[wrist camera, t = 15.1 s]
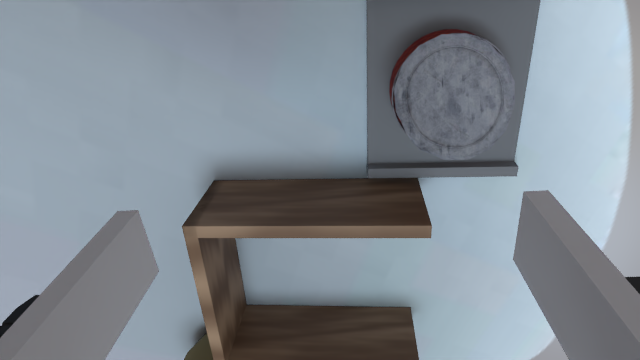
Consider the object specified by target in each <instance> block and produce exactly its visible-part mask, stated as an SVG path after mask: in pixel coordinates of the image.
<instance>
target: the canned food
mask: <svg viewBox="0 0 640 360" xmlns="http://www.w3.org/2000/svg"><path fill="white" fill-rule="evenodd" d="M514 93H515V81H514V79H513V77H512V74H511V70H510V66H509V64H508V62H507V60H506V58H505V56H504V55H503V54H502V52H501V51H500V50H499V49H498V48H497V47H496V46H495V45H494V44H492V43H491V42H490V41H488V40H486V39H484V38H482V37H480V36H478V35H476V34H474V33H472V32H469V31H466V30H461V29H442V30H438V31H433V32H431V33H429V34H426V35H424V36H422V37H420V38H419V39H417V40H416V41H414V42H413V43H412V44H411V45H410V46H409V47H407V48H406V49H405V50H404V52H403V53H402V54H401V56H400V57H399V58H398V60H397V62H396V64H395V66H394V68H393V70H392V74H391V78H390V83H389V95H390V102H391V105H392V108H393V113H394V115H395V118H396V121H397V122H398V124H399V126H400V127H401V129H402V130H403V131H404V132H405V133H406V134H407V135H408V137H409V138H410V140H411V141H412V143H413V144H414V145H415V146H416V147H417V148H418V149H419V150H422V151H424V152H427V153H429V154H432V155H434V156H436V157H438V158H441V159H443V160H469V159H471V158H473V157H475V156H477V155H479V154H481V153H483V152H485V151H487V150H489V149H491V147H492V146H493V145H494V144H495V143H496V141H497V140H498V139H499V138H500V137H501V136H502V135H503V133H504V132H505V131H506V130H507V127H508V124H509V121H510V118H511V115H512V113H513V110H514V108H515V95H514Z"/></svg>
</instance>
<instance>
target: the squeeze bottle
mask: <svg viewBox="0 0 640 360" xmlns="http://www.w3.org/2000/svg"><path fill="white" fill-rule="evenodd" d="M184 360H213V356H212V351H211V347H210V343H209V339H208V335H207V334H205V335H204V336H203V337H202V338H201V339H200V340H199V341H198V342H197V343H196V344H195V345H194V346H193V347H192V348H191V349H190V351H189V352H188V353H187V355H186V357H185V358H184Z"/></svg>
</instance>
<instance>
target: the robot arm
mask: <svg viewBox="0 0 640 360" xmlns="http://www.w3.org/2000/svg"><path fill="white" fill-rule="evenodd" d="M513 260H514V262H515V263H516V265H517V267H518V269H519V271H520V272H521V274H522V276H523V278H524V280H525V281H526V283H527V285H528V287H529V289H530V290H531V292H532V294H533V296H534V298H535V299H536V301H537V303H538V305H539V307H540V308H541V310H542V312H543V314H544V316H545V317H546V319H547V321H548V323H549V325H550V326H551V328H552V330H553V332H554V334H555V335H556V337H557V339H558V341H559V343H560V344H561V346H562V348H563V350H564V352H565V353H566V355H567V357H568V359H569V360H640V277H624V276H623V275H622V274H621V273H620V271H619V270H618V269H617V268H616V267H615V266H614V265H613V263H612V262H611V261H610V260H609V259H608V258H607V257H606V256H605V255H604V253H603V252H602V251H601V250H600V249H599V247H598V246H597V245H596V244H595V243H594V242H593V241H592V240H591V238H590V237H589V236H588V235H587V234H586V233H585V232H584V230H583V229H582V228H581V227H580V226H579V225H578V224H577V222H576V221H575V220H574V219H573V218H572V217H571V216H570V214H569V213H568V212H567V211H566V210H565V209H564V208H563V206H562V205H561V204H560V203H559V202H558V201H557V200H556V199H555V197H554V196H553V195H552V194H551V193H550V192H549V191H548V190H546V191H526V192H524V193H523V199H522V205H521V212H520V218H519V225H518V231H517V238H516V244H515V251H514V257H513ZM158 272H159V270H158V267H157V264H156V261H155V258H154V255H153V252H152V249H151V246H150V243H149V240H148V238H147V235H146V232H145V229H144V226H143V223H142V220H141V217H140V214H139V211H138V210H131V211H117V212H116V213H115V215H114V216H113V217H112V218H111V219H110V220H109V221H108V222H107V223H106V224H105V225H104V226H103V227H102V229H101V230H100V231H99V232H98V233H97V234H96V235H95V236H94V237H93V238H92V239H91V240H90V242H89V243H88V244H87V245H86V246H85V247H84V248H83V249H82V250H81V251H80V252H79V253H78V254H77V256H76V257H75V258H74V259H73V260H72V261H71V262H70V263H69V264H68V265H67V266H66V267H65V269H64V270H63V271H62V272H61V273H60V274H59V275H58V276H57V277H56V278H55V279H54V280H53V281H52V283H51V284H50V285H49V286H48V287H47V288H46V289H45V290H44V291H43V292H42V293H41V294H40V295H35V296H33V297H32V298H31V299H29V300H28V301H26V302H25V303H23V304H22V305H20V306H19V307H18V308H16V309H15V310H14V311H13V312H12V313H11V315H10V316H9V317H8V318H7V319H6V320H5V321H4V322H3V323H2V326H0V360H105V359H106V357H107V355H108V354H109V352H110V350H111V349H112V347H113V346H114V344H115V342H116V341H117V339H118V337H119V336H120V334H121V332H122V331H123V329H124V328H125V326H126V324H127V323H128V321H129V319H130V318H131V316H132V314H133V313H134V311H135V310H136V308H137V306H138V305H139V303H140V301H141V300H142V298H143V297H144V295H145V293H146V292H147V290H148V288H149V287H150V285H151V283H152V282H153V280H154V279H155V277H156V275H157V274H158Z"/></svg>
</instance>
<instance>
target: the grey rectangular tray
mask: <svg viewBox="0 0 640 360" xmlns="http://www.w3.org/2000/svg"><path fill="white" fill-rule="evenodd" d="M539 6H540V0H367V132H368V178H420V177H492V176H517V172H518V166H517V164H516V163H515V162H514V159H515V152H516V146H517V140H518V134H519V128H520V122H521V116H522V110H523V104H524V98H525V91H526V85H527V79H528V73H529V67H530V61H531V55H532V49H533V43H534V36H535V30H536V24H537V18H538V12H539ZM442 29H461V30H466V31H469V32H472V33H474V34H476V35H478V36H480V37H482V38H484V39H486V40H488V41H490V42H491V43H492V44H494V45H495V46H496V47H497V48H498V49H499V50H500V51H501V52H502V54H503V55H504V56H505V58H506V60H507V62H508V64H509V66H510V70H511V74H512V77H513V79H514V81H515V93H514V95H515V108H514V110H513V113H512V115H511V118H510V121H509V124H508V127H507V130H506V131H505V132H504V133H503V135H502V136H501V137H500V138H499V139H498V140H497V141H496V143H495V144H494V145H493V146H492V147H491V149H489V150H487V151H485V152H483V153H481V154H479V155H477V156H475V157H473V158H471V159H469V160H443V159H441V158H438V157H436V156H434V155H432V154H429V153H427V152H424V151H422V150H419V149H418V148H417V147H416V146H415V145H414V144H413V143H412V141H411V140H410V138H409V137H408V135H407V134H406V133H405V132H404V131H403V130H402V129H401V127H400V126H399V124H398V122H397V121H396V118H395V115H394V113H393V108H392V105H391V102H390V95H389V83H390V78H391V74H392V70H393V68H394V66H395V64H396V62H397V60H398V58H399V57H400V56H401V54H402V53H403V52H404V50H405V49H406V48H407V47H409V46H410V45H411V44H412V43H413V42H414V41H416V40H417V39H419V38H420V37H422V36H424V35H426V34H429V33H431V32H433V31H438V30H442Z"/></svg>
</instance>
